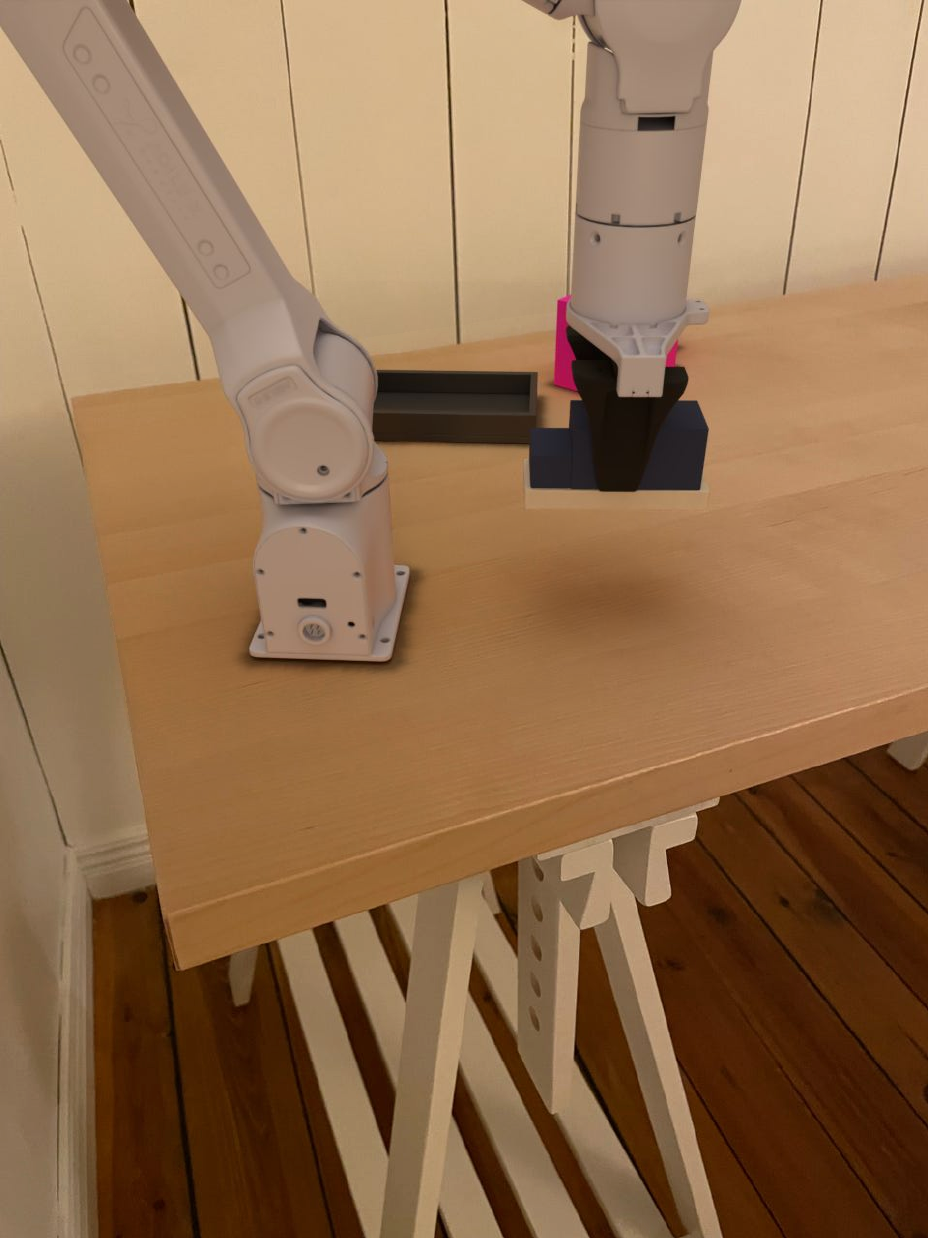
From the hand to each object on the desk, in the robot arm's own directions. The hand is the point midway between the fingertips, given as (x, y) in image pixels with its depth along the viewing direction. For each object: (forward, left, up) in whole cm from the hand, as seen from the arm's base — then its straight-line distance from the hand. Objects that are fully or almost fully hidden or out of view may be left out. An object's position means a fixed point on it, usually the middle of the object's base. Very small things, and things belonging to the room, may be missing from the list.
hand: (613, 470), depth 54 cm
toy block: (+38, -4, -9) cm, 39 cm away
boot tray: (+26, +12, -8) cm, 30 cm away
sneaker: (0, 0, -1) cm, 1 cm away
